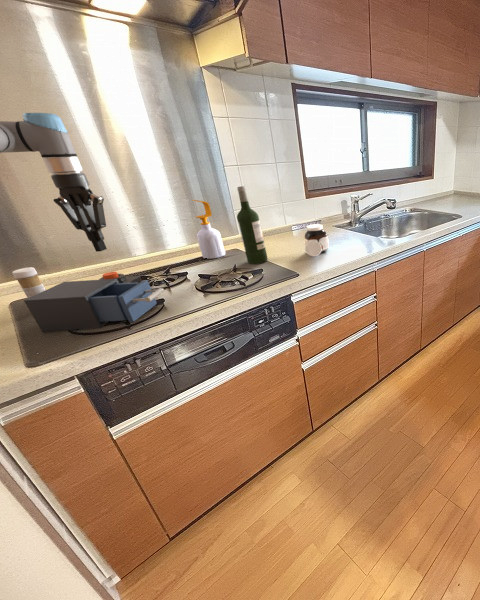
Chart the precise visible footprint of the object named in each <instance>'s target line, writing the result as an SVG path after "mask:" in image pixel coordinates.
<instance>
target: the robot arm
mask: <svg viewBox="0 0 480 600" xmlns="http://www.w3.org/2000/svg"><path fill="white" fill-rule="evenodd" d="M22 118H23V120H20V121H18V120H17V121H12V120H11V121H7V120H6V121H5V120H4V121H3V120H0V154H1V153H5V154H6V153H27V152H28V153H29V152H30V153H31V152H32V153H35V152H39V154H40V156H41V159H42V161H43V163H44V165H45V167H46V169H47V172H48V173H49V174H51V176H50V178H51V180H52V181H53V182H52V183H53V184H54V186H55V188H56V189H58V192H59V193H58V194H59V196H58V197H57V198H53V202H54V203H55V204H56V205H57V206H59V208H60V209H61V210H62V211H63V213H64V214H65V215H66V217H67V219H68V220H69V221H70V223H71V224H72V225H73V227H74V228H75V230H80V231H83V232H84V233H85V235H86V237H87V240H88V241H89V242H91V244H92V246H93V248H94V251H95V252H103V251H106V250H108V248H107V246H106V243H105V236H104V234H103V232H102V229H104V228H106V227H107V222H106V216H105V209H104V200H105V198H104V196H102V195H101V196H99V195H96V194H94V191H92V190H91V188H90V183H89V181H88V178H87V175H86V174H85V173H84V172H83V171H84V168H83V166H82V164H81V162H80V159H79V158H78V157H79V156H78V154H77V153H76V150H75V148H74V145H73V142H72V140H71V137H70V135H69V132H68V130H67V129H66V126H65V124H64V123H63V120H62V119H61V117H60V116H58V115H57V114H56V113H50V112H23V113H22Z"/></svg>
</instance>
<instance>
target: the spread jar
mask: <svg viewBox="0 0 480 600" xmlns="http://www.w3.org/2000/svg"><path fill="white" fill-rule="evenodd" d="M303 240H304V246H305V247H304V250H305V252H306V254H307V255H308V256H310V257H317V256H319V255H320V254H324V253H326V252H327V251H328V249H329V247H330V242H329V235H328V233H327V232H326V231H325V230H324V226H323V224H319V223H318V224H317V223H314V224H309V225H307V226H306V232H305V233H304V236H303Z"/></svg>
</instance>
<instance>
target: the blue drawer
mask: <svg viewBox="0 0 480 600" xmlns="http://www.w3.org/2000/svg"><path fill="white" fill-rule="evenodd" d="M164 292H165V290H164V287H159V288H157V289H156V288H155V289H152V288H151V285H150V283H149V280H148V279H147V280H146V279H144V280H142V282H140V283H139V284H138V282H136V283H120V284H112V285H110V286H108V287H106V288H105V289H103V290H101V291H99V292H98V293H96V294H94V295H92V296H90V297H89V298H88V299H89V301H90V303H91V305H92V307H93V309H94V311H95V313H96V315H97V317H98V319H99V321H100V322H108V321H110V322H118V321H119V322H120V321H126V320H128V323H132V322H133V323H134V322H135V321H137V320H138V319H139V318H141V317H142V316H143V315H144V314H146V313H147V312H148V311H149V310H151V309H152V308H153V307H155V306H156V305H157V304H158V303H157V300H156V298H157V297H158V296H160V295H161V294H162V293H164ZM108 323H109V322H108Z"/></svg>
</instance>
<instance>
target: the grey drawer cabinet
mask: <svg viewBox="0 0 480 600" xmlns="http://www.w3.org/2000/svg"><path fill="white" fill-rule="evenodd" d="M112 284H119V282H118V280H117V279H103V280H99V279H89V280H88V279H87V280H70V281H62V282H60V283H59V284H56V285H54V286H52V287H50V288H47V289H46V290H45V291H43V292H41V293H39V294H37V295H34V296H32V297H30V298H26V299H24V300H23V302H24V303H25V305H26V307H27V308H28V310H29V312H30V314H31V315H32V318H33V319H34V320H35V322H36V324H37V326H38V327H39V329H40V331H41V332H42V333H50V332H52V333H53V332H63V331H65V332H66V331H74V330H73V329H80V330H90V329H89V328H93V329H101V328H103V327H104V326H105V325H106V323H107V322H100V321H99V319H98V317H97V315H96V313H95V311H94V309H93V307H92V305H91V303H90V301H89V299H88V298H89V297H90V296H92V295H94V294H96V293H98V292H99V291H101V290H103V289H105V288H106V287H108V286H110V285H112ZM108 323H110V322H109V321H108ZM108 323H107V324H108ZM100 327H101V328H100Z"/></svg>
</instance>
